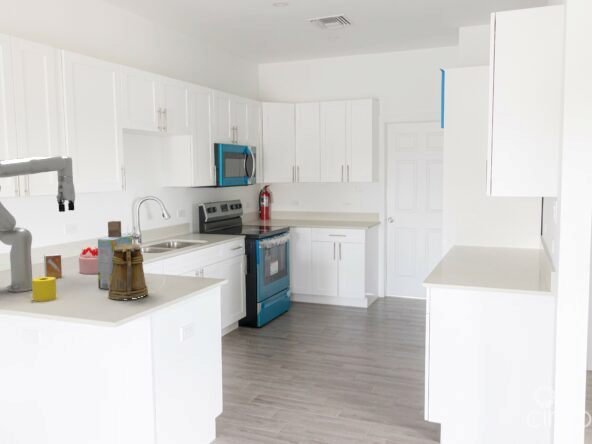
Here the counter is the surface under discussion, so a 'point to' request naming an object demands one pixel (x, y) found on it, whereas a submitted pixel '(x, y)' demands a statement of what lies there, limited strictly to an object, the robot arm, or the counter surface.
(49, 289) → the tape roll
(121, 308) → the counter surface
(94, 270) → the cake
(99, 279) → the snack box
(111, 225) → the walnut block
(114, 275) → the tankard
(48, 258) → the small box
